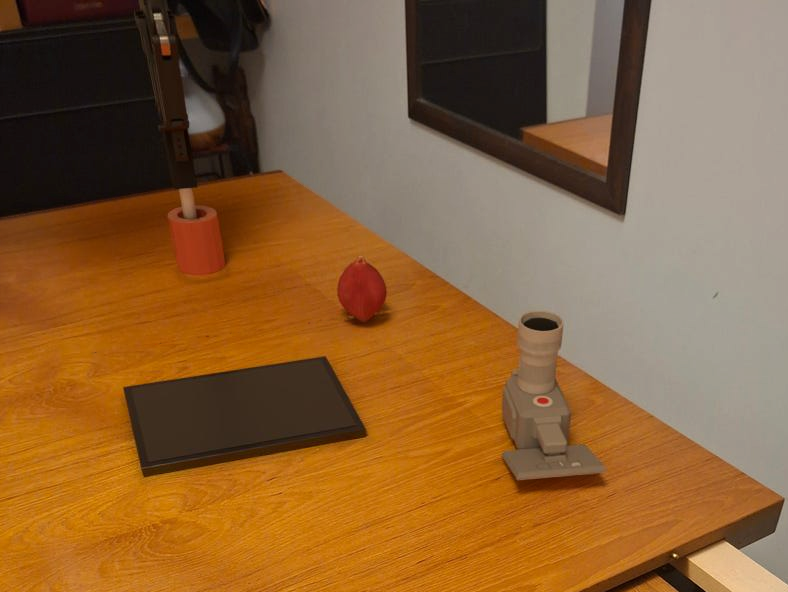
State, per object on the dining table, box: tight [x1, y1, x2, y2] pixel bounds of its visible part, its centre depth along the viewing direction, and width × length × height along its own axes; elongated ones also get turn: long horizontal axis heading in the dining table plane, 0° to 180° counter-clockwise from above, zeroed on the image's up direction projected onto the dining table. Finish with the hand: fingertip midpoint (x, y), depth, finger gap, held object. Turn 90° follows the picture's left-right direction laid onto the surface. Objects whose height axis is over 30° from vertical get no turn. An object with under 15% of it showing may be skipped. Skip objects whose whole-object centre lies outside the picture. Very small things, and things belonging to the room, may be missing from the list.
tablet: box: [122, 355, 367, 478], centre depth 93 cm, size 16×22×1 cm
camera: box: [501, 310, 608, 481], centre depth 87 cm, size 9×12×15 cm
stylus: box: [178, 188, 197, 220], centre depth 112 cm, size 2×2×16 cm
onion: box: [336, 255, 388, 323], centre depth 107 cm, size 6×6×8 cm
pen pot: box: [167, 204, 226, 276], centre depth 116 cm, size 6×6×7 cm
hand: (184, 183), depth 111 cm, fingers closed on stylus, 2 cm apart
